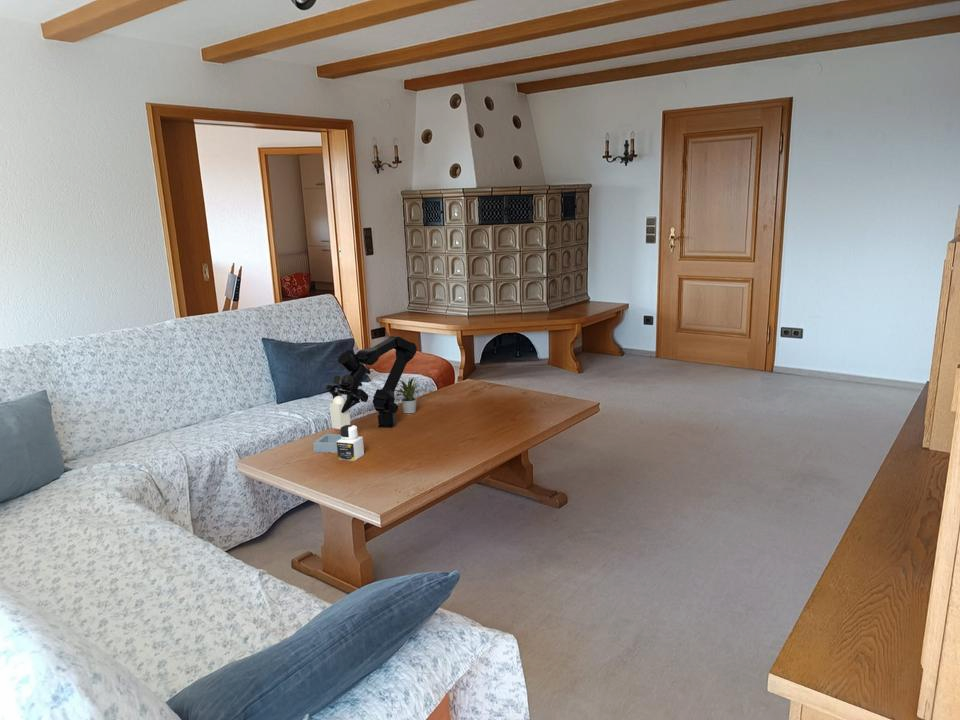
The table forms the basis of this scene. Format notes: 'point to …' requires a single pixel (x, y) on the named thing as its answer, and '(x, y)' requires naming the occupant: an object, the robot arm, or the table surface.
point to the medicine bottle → (350, 444)
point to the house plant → (408, 396)
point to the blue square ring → (327, 443)
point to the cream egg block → (339, 413)
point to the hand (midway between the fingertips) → (337, 411)
